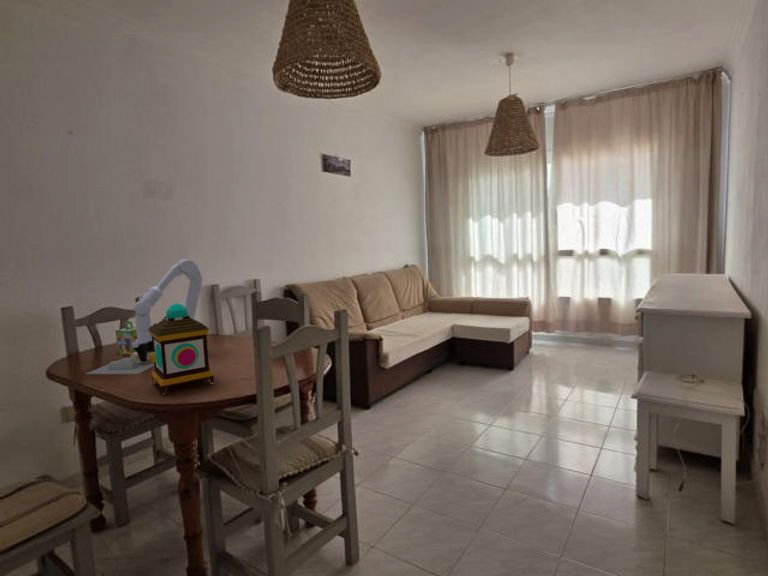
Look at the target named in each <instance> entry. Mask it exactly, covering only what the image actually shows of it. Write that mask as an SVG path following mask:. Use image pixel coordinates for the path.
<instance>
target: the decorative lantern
mask: <svg viewBox="0 0 768 576" xmlns="http://www.w3.org/2000/svg"><path fill="white" fill-rule="evenodd" d="M148 331H149V333H150V334H151V336H152V344H153V353H151V354H150V360H151V361H152V362H154V366H153V367H154V369H153V371H152V374H151V382H152V384H153V383H156V384H157V385H158V386H159V388H160V391H161V392H160V393H161V395H162V394H163V393H166V394H167V389H168V388H170V387H175V386H181V385H185V384H190V383H195V382H200V381H203V380H208V383H209V382H210V383H212V382H214V383H215V378H214V374H213V372H212V370H211V369H210V364H209V353H208V352H209V350H210V344H209V341H208V333H209V332H210V328H209V327H207V325H206V324H204V323H203V322H200V321H198V320H196V319H195V318H194V319H192V318H190V316H189V315H188V313H187V309H186V308H185V305H183V304H181V303H179V302H175V303H173V304H171V305H170V306H169V307H168V308H167V310H166V315H165V316H164V318H162V319H161V320H160V321H159V322H158V323H156V322H155V323H154V324H153V323H152V325H151V327H150V328H149V329H148Z"/></svg>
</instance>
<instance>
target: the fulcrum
mask: <svg viewBox="0 0 768 576" xmlns="http://www.w3.org/2000/svg"><path fill="white" fill-rule="evenodd" d="M109 364H110V366H109V370H132V369H135V368H137V367H138V363H136V361H118V360H113V361H111V362H109Z"/></svg>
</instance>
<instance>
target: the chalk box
mask: <svg viewBox="0 0 768 576" xmlns="http://www.w3.org/2000/svg"><path fill="white" fill-rule="evenodd" d="M128 325H130V327H129V326H128ZM115 339H116V340H115V341H116V349H117V351H116V352H117V356H120V355H123V354H124V355H130V354H131V353H134V352H136V351H135V349H134V348H132V343H133V342H135V339H137V330H136V326H135V327H134V325H133V322H132V321H130V320H129V321H128V322H127V321H126V322H124V328H121V329H118V330H115Z"/></svg>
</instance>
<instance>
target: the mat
mask: <svg viewBox="0 0 768 576" xmlns="http://www.w3.org/2000/svg"><path fill="white" fill-rule="evenodd" d="M117 361H131V358H130V357H123V358H121V359H118V360H117ZM109 366H110V363H109V364H105V365H103V366H101V367H99V368H97V369H93V370H92V371H88V372H86V373H85V375H138V374H140V373H143V372H144V371H146V370H149V369H151V368H153V367H154V363H138V367H137V368H135V369H132V370H109Z"/></svg>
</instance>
